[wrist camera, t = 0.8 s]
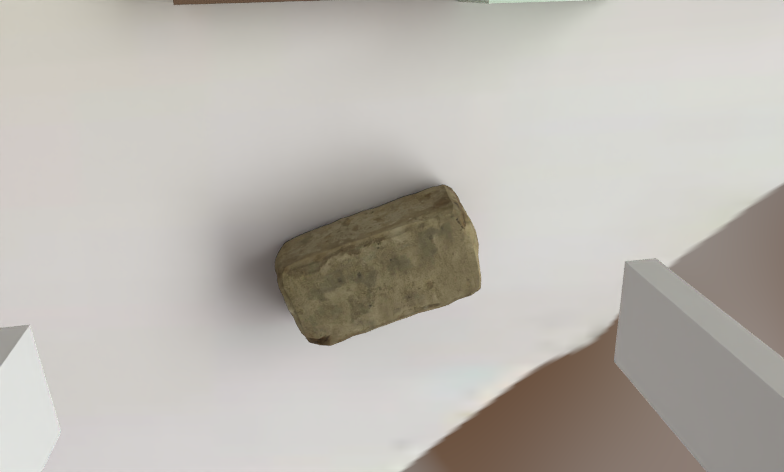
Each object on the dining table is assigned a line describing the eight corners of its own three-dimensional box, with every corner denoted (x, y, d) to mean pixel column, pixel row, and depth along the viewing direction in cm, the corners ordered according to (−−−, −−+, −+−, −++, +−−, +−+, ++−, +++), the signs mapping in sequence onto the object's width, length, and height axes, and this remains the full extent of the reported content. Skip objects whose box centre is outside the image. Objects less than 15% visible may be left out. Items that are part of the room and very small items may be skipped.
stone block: (268, 241, 39) (267, 274, 34) (448, 172, 39) (472, 197, 34) (304, 320, 41) (308, 362, 36) (474, 255, 41) (499, 288, 37)
